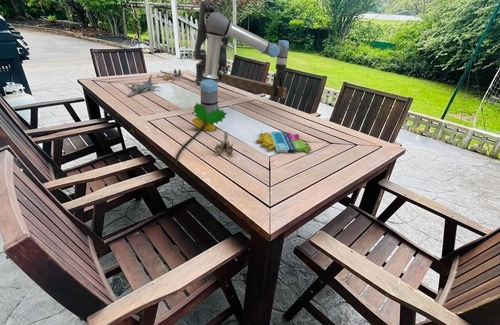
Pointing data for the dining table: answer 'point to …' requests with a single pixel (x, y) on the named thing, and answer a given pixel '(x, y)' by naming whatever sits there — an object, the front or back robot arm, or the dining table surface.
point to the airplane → (142, 87)
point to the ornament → (207, 117)
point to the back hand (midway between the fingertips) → (221, 78)
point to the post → (252, 85)
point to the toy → (171, 75)
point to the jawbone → (224, 145)
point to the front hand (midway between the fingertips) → (277, 95)
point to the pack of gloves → (283, 142)
